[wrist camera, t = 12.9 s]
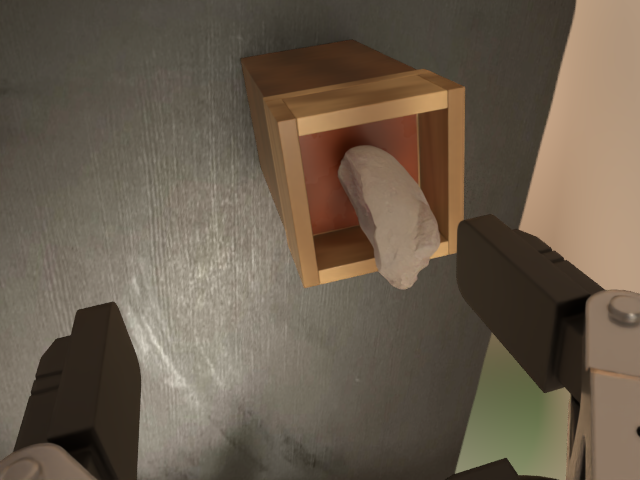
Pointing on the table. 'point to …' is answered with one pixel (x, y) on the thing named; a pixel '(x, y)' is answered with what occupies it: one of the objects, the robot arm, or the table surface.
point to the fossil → (390, 213)
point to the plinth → (305, 84)
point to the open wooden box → (356, 130)
